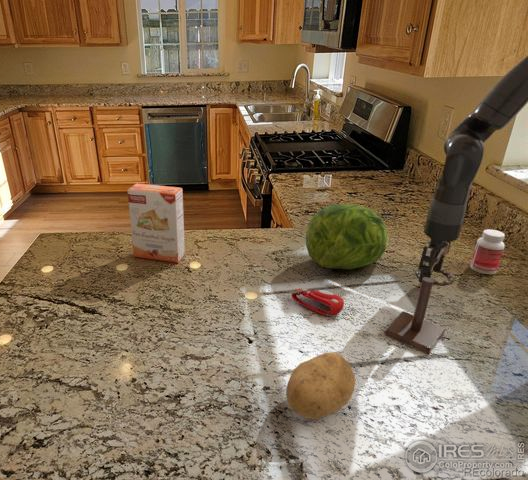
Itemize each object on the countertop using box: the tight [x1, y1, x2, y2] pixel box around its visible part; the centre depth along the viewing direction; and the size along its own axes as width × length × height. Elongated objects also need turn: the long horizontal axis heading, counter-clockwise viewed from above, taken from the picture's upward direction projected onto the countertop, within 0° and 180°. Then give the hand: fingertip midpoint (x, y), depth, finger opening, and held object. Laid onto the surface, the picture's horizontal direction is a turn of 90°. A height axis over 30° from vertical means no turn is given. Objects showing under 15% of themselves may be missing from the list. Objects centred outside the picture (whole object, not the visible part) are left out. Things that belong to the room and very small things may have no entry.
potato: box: [285, 351, 356, 420], centre depth 71 cm, size 10×14×8 cm
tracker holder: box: [288, 288, 345, 316], centre depth 99 cm, size 12×4×10 cm
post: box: [384, 277, 446, 355], centre depth 87 cm, size 9×9×14 cm
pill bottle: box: [469, 228, 506, 275], centre depth 112 cm, size 6×6×11 cm
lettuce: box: [305, 203, 389, 270], centre depth 115 cm, size 18×23×19 cm
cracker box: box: [127, 182, 186, 264], centre depth 119 cm, size 14×6×21 cm, turn 73°
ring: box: [415, 268, 455, 286], centre depth 110 cm, size 9×9×1 cm
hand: (429, 276), depth 107 cm, fingers open, 8 cm apart
